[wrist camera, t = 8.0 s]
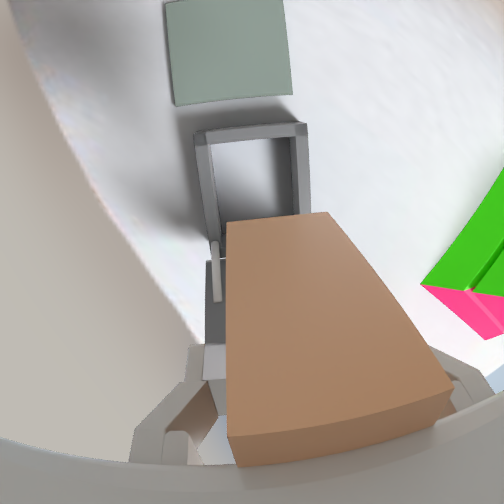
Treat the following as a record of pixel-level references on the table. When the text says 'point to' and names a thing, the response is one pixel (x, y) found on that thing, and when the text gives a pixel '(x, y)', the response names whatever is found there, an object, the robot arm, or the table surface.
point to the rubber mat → (227, 50)
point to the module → (317, 346)
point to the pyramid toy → (475, 268)
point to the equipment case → (217, 240)
